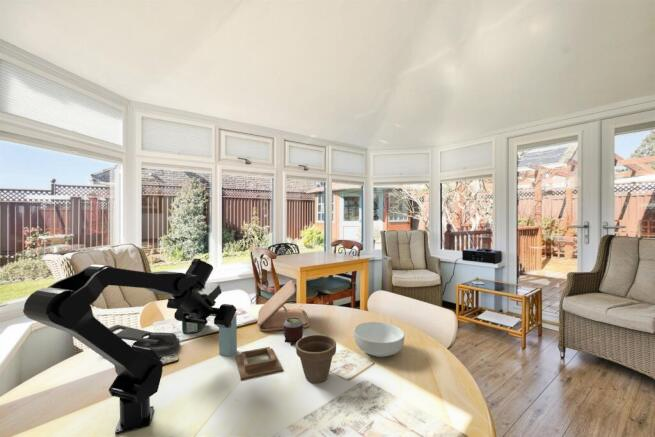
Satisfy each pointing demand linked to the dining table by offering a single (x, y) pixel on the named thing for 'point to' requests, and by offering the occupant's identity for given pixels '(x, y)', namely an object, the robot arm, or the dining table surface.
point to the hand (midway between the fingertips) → (218, 324)
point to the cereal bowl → (379, 338)
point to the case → (275, 318)
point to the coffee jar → (191, 327)
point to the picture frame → (257, 363)
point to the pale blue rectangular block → (228, 339)
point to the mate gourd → (292, 329)
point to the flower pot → (316, 356)
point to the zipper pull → (149, 339)
